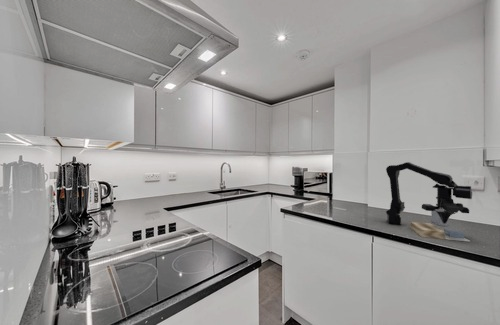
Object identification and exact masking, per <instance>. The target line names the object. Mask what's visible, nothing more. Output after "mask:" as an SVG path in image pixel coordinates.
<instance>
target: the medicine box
mask: <svg viewBox="0 0 500 325" xmlns="http://www.w3.org/2000/svg"><path fill="white" fill-rule="evenodd" d="M430 214H431V223H433V224H436V225H439V226H441V227H443V226H444V227H448V226H449V219H448V220H447V222H446V224H445V223H443V222H442V220H441V218H440V216H439V215H438V213H437V212H436V211H430Z"/></svg>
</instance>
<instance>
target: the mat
mask: <svg viewBox="0 0 500 325" xmlns="http://www.w3.org/2000/svg"><path fill="white" fill-rule="evenodd" d="M441 230H442V229H441ZM442 231H444V229H443V230H442ZM444 240H449V241H461V242H471V240H469V239H468V238H465V237H464V238H455V237H449V236H448V235H446V234H445V239H444Z"/></svg>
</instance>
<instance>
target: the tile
mask: <svg viewBox="0 0 500 325" xmlns="http://www.w3.org/2000/svg"><path fill="white" fill-rule="evenodd" d="M443 230H444V232H445V234H446V235H448V236H449V237H455V238H465V233H463V232H462V231H460V230H458V229H450V228H449V229H448V228H443Z"/></svg>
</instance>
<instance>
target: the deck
mask: <svg viewBox="0 0 500 325" xmlns="http://www.w3.org/2000/svg"><path fill="white" fill-rule="evenodd" d="M410 229H411V230H412V231H414V232H415V233H416V234H417V235H419V236H420V237H422V238H430V239H441V240H446V239H445V232H444V231H442V229H440V228H439V227H438V226H435V225H434V224H432V223H429V222H417V221H416V222H415V221H410Z"/></svg>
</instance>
